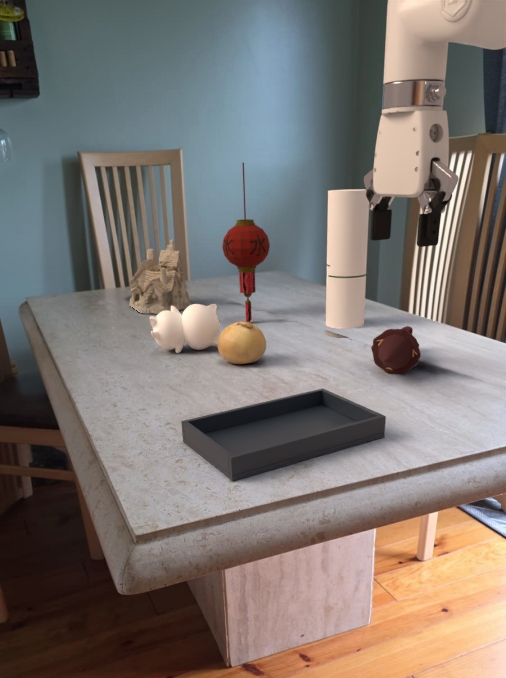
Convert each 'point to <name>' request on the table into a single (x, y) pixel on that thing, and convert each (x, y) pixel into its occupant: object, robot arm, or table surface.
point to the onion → (241, 343)
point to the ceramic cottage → (159, 283)
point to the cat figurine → (186, 327)
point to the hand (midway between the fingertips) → (402, 242)
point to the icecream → (396, 350)
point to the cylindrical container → (346, 259)
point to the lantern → (246, 253)
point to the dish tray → (281, 432)
